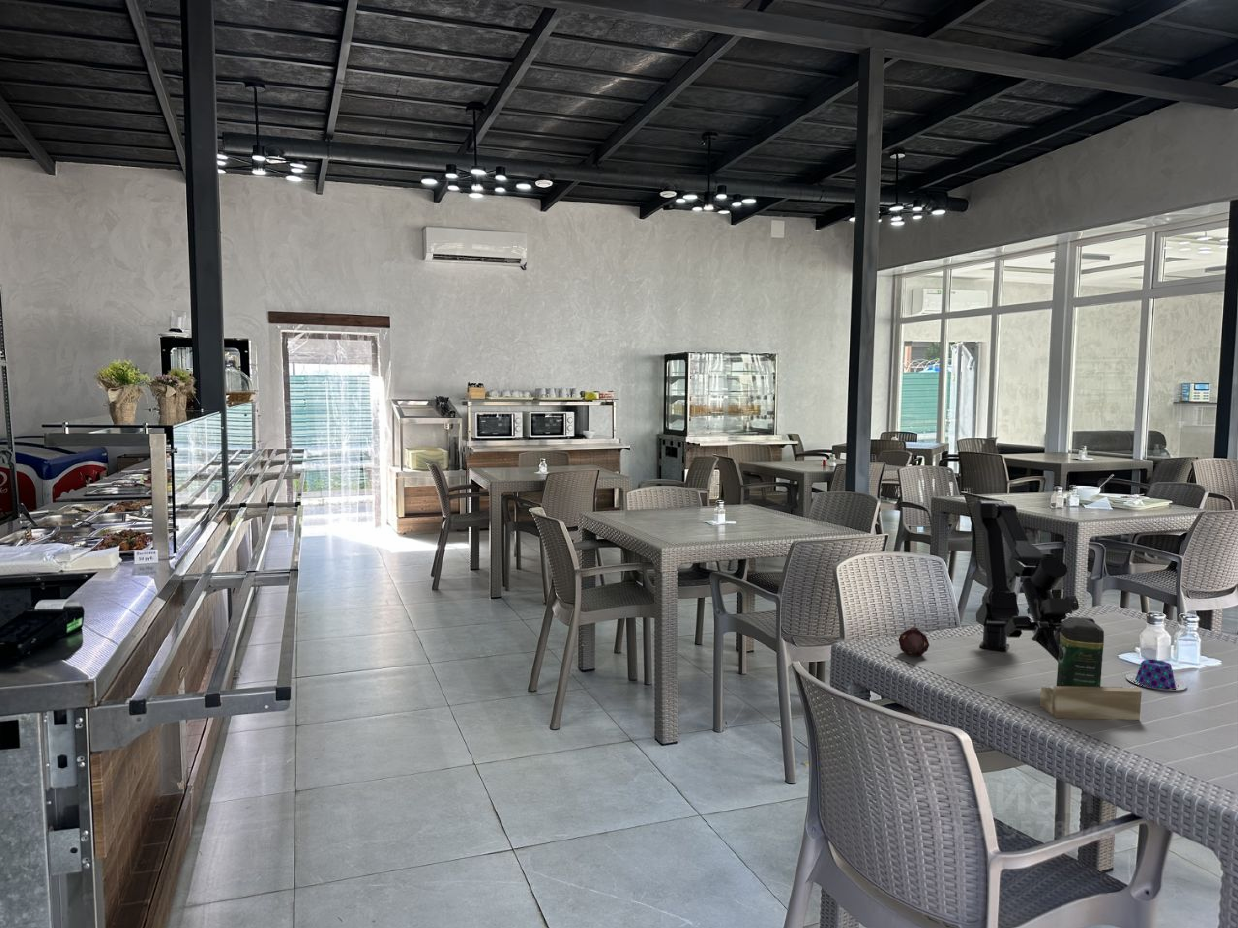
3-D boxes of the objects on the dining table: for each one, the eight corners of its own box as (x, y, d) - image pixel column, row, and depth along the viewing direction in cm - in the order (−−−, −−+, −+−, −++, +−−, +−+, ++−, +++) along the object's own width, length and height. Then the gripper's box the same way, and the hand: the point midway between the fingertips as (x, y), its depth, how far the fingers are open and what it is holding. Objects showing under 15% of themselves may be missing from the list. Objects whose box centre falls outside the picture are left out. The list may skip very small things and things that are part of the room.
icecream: (935, 640, 204) (930, 629, 218) (904, 629, 206) (901, 619, 220) (926, 666, 204) (922, 654, 218) (896, 656, 206) (893, 644, 220)
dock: (1039, 705, 178) (1041, 678, 178) (1119, 707, 178) (1121, 679, 178) (1056, 717, 171) (1058, 689, 171) (1139, 719, 171) (1141, 691, 171)
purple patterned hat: (1124, 672, 202) (1125, 651, 202) (1183, 681, 196) (1185, 660, 196) (1126, 687, 192) (1127, 665, 191) (1189, 697, 186) (1190, 674, 186)
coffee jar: (1103, 714, 174) (1109, 627, 172) (1061, 709, 176) (1066, 624, 174) (1092, 699, 183) (1097, 616, 181) (1052, 694, 185) (1057, 612, 184)
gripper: (1013, 581, 190) (1033, 643, 180) (1095, 583, 190) (1119, 645, 180) (996, 606, 199) (1014, 666, 189) (1074, 607, 199) (1096, 668, 189)
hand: (1061, 661), depth 186 cm, fingers closed
